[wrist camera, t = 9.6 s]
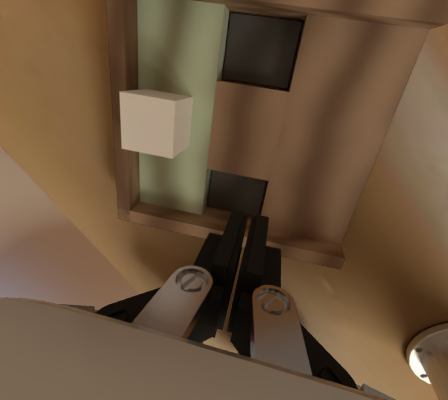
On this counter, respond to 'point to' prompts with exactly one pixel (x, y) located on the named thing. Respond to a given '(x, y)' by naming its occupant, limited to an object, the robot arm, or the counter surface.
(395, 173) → the counter surface
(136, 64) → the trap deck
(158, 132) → the block
